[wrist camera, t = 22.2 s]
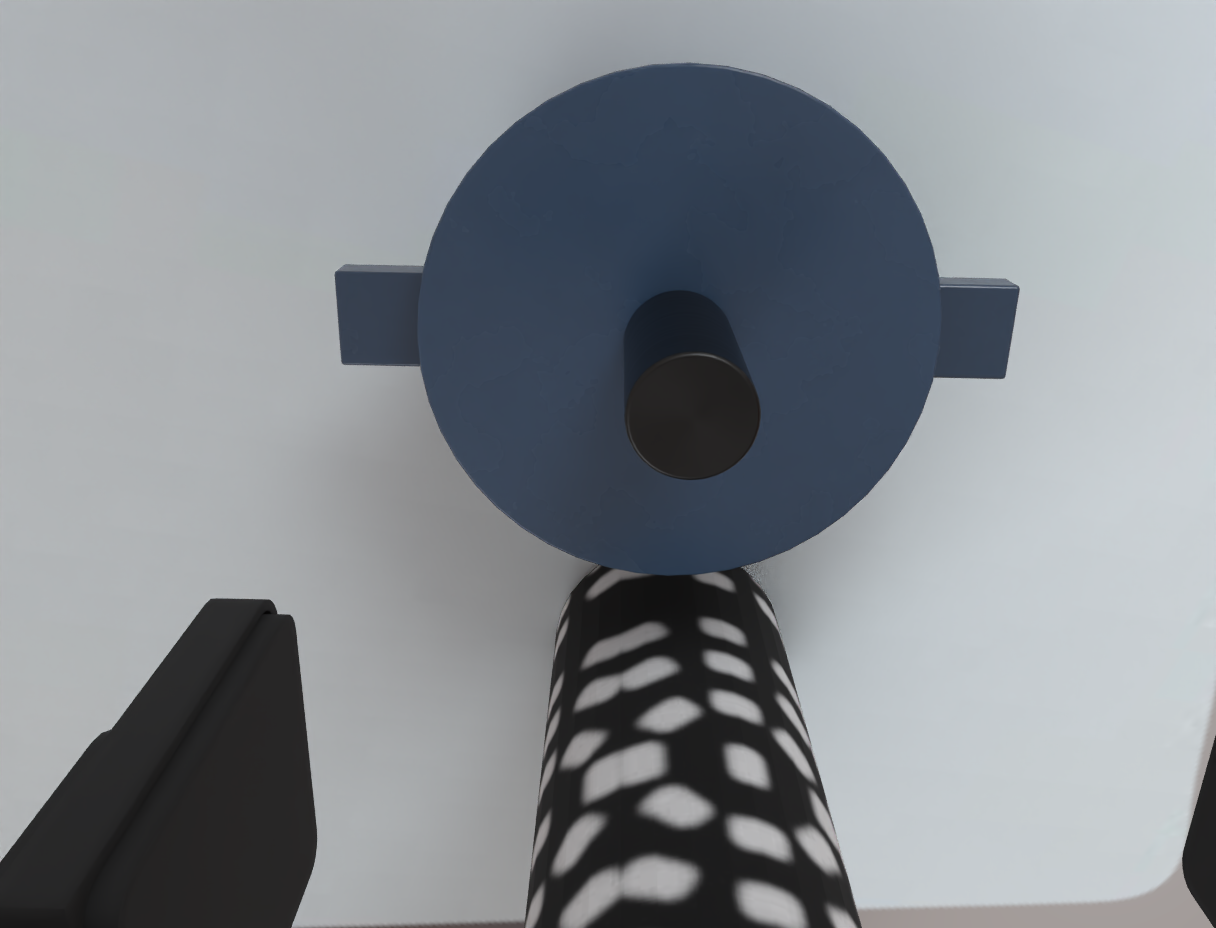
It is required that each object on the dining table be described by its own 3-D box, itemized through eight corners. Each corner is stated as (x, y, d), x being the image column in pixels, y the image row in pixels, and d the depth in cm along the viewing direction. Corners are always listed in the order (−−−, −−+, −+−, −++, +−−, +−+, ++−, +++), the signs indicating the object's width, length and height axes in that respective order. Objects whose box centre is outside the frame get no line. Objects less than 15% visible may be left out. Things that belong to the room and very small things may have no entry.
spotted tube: (600, 513, 37) (580, 978, 18) (815, 585, 38) (1001, 1096, 19) (526, 699, 40) (445, 1263, 21) (728, 762, 41) (818, 1354, 22)
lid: (412, 56, 24) (339, 58, 18) (962, 68, 24) (1084, 73, 18) (435, 550, 28) (383, 691, 22) (896, 561, 28) (974, 705, 22)
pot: (391, 68, 32) (309, 74, 23) (948, 80, 32) (1066, 90, 23) (410, 425, 36) (347, 539, 28) (902, 436, 36) (987, 553, 28)
